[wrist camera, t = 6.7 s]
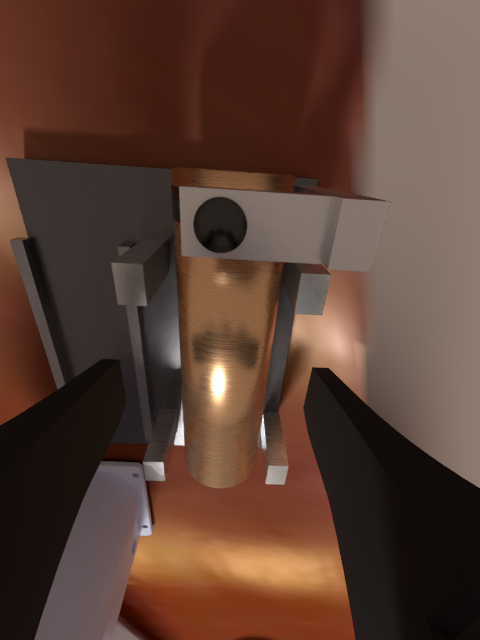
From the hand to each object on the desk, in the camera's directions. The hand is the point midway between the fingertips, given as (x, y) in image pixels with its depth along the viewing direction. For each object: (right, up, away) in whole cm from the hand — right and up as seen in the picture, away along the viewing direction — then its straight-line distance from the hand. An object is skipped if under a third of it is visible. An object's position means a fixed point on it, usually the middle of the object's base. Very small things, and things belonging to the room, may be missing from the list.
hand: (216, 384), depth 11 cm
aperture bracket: (+2, +7, +1) cm, 7 cm away
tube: (0, +2, +3) cm, 4 cm away
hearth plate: (-3, +2, +5) cm, 6 cm away
